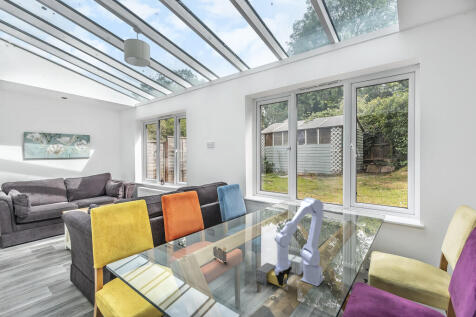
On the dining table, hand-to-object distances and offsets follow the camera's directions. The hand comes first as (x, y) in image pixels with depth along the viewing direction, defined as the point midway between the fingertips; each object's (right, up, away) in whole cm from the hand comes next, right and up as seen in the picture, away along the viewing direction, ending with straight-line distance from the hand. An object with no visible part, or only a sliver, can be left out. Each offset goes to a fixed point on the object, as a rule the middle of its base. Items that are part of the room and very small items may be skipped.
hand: (283, 283), depth 116 cm
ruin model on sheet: (-35, -3, +31) cm, 47 cm away
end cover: (-3, -1, +2) cm, 4 cm away
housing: (-8, -2, +7) cm, 10 cm away
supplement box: (+3, +2, +20) cm, 21 cm away
